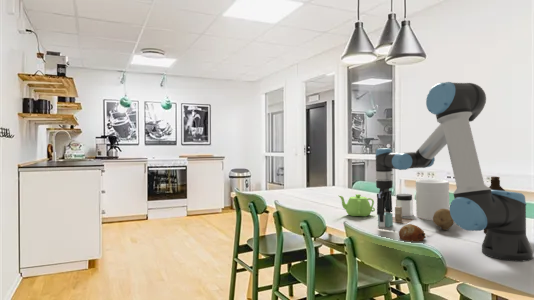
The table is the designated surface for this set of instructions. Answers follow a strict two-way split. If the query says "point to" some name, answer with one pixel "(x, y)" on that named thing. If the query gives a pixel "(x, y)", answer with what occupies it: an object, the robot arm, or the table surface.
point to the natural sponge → (443, 219)
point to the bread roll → (411, 233)
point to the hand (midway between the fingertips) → (385, 226)
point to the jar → (405, 204)
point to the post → (398, 213)
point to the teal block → (387, 219)
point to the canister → (431, 197)
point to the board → (403, 220)
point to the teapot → (358, 206)
